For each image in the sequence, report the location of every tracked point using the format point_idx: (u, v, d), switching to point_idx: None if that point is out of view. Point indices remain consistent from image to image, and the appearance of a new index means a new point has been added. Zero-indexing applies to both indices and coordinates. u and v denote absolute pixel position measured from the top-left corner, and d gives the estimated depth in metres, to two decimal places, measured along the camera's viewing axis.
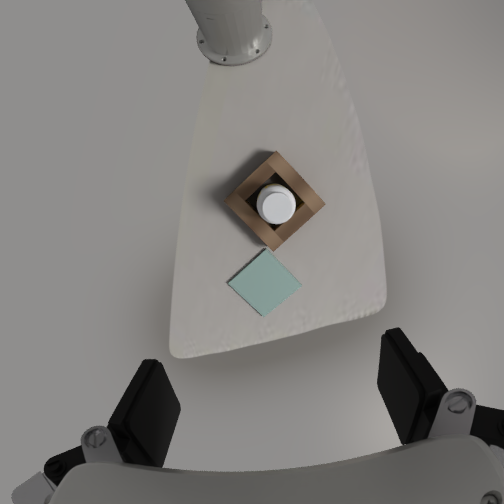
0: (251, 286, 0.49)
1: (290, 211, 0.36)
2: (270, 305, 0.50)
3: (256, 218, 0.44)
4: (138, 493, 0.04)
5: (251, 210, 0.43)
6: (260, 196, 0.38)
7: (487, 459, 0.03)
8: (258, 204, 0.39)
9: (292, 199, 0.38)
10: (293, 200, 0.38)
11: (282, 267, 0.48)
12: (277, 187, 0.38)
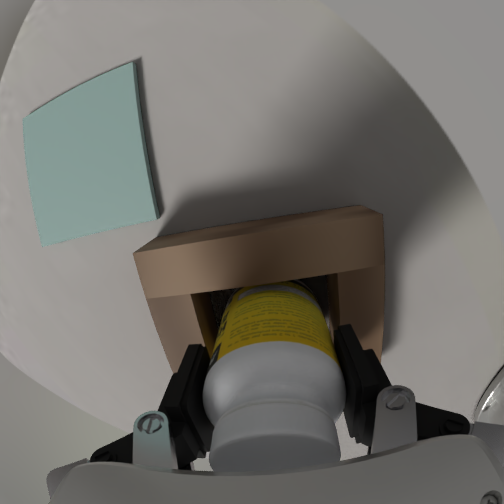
0: (89, 120, 0.13)
1: None
2: (33, 147, 0.13)
3: (262, 272, 0.12)
4: (138, 493, 0.04)
5: (294, 273, 0.12)
6: (341, 388, 0.09)
7: (487, 459, 0.03)
8: (324, 373, 0.08)
9: None
10: None
11: (92, 229, 0.14)
12: None
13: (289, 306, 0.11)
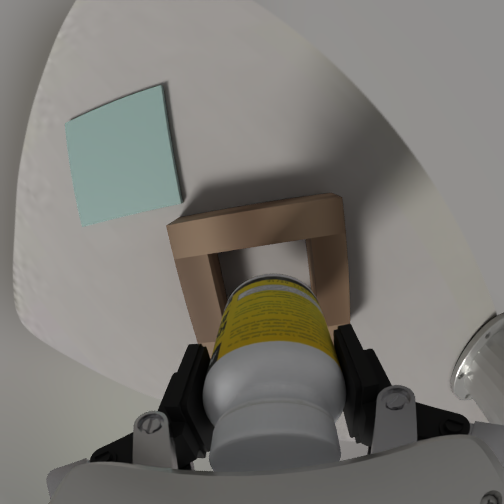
0: (126, 128, 0.18)
1: None
2: (76, 147, 0.18)
3: (258, 237, 0.17)
4: (138, 493, 0.04)
5: (280, 238, 0.17)
6: (341, 388, 0.09)
7: (487, 459, 0.03)
8: (324, 373, 0.08)
9: None
10: None
11: (129, 212, 0.20)
12: None
13: (289, 306, 0.11)
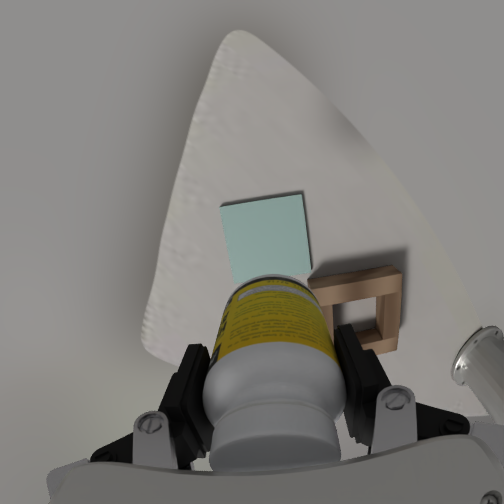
0: (276, 221, 0.31)
1: None
2: (231, 227, 0.32)
3: (359, 295, 0.31)
4: (138, 493, 0.04)
5: (370, 295, 0.30)
6: (341, 388, 0.09)
7: (487, 459, 0.03)
8: (324, 373, 0.08)
9: None
10: None
11: None
12: None
13: (289, 306, 0.11)
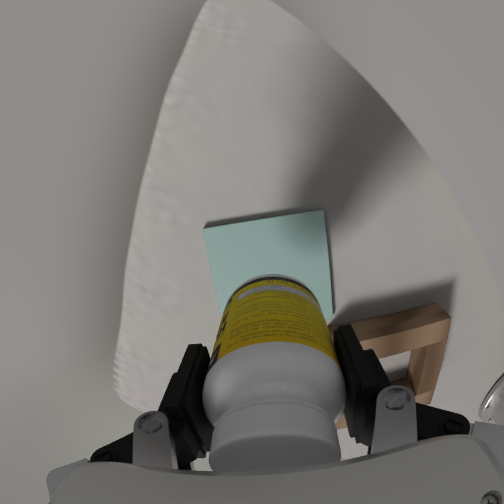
0: (286, 250, 0.21)
1: None
2: (220, 259, 0.22)
3: (396, 349, 0.20)
4: (138, 493, 0.04)
5: (410, 348, 0.20)
6: (341, 388, 0.09)
7: (487, 459, 0.03)
8: (324, 373, 0.08)
9: None
10: None
11: None
12: None
13: (289, 306, 0.11)
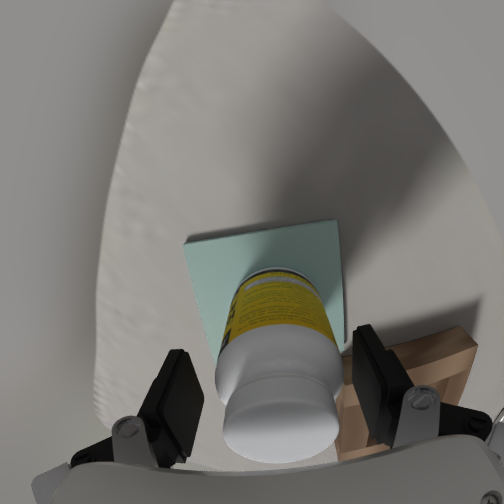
0: None
1: (244, 453, 0.08)
2: (206, 281, 0.17)
3: (417, 383, 0.16)
4: (138, 493, 0.04)
5: (431, 381, 0.16)
6: (339, 366, 0.10)
7: (487, 459, 0.03)
8: (323, 352, 0.10)
9: None
10: None
11: None
12: None
13: (291, 295, 0.13)
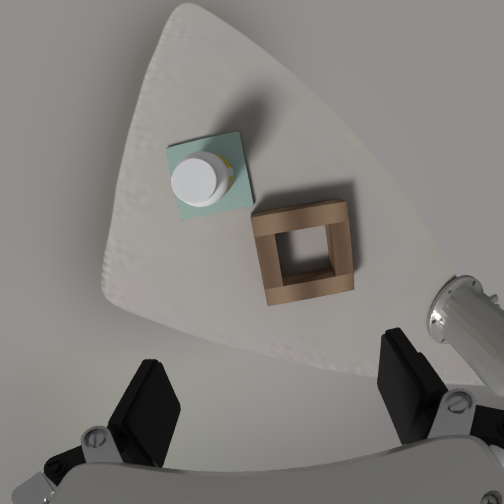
0: None
1: (179, 195, 0.24)
2: None
3: (302, 224, 0.32)
4: (138, 493, 0.04)
5: (314, 224, 0.32)
6: (222, 165, 0.25)
7: (487, 459, 0.03)
8: (213, 157, 0.25)
9: (195, 203, 0.26)
10: (193, 204, 0.26)
11: (218, 209, 0.34)
12: (221, 193, 0.26)
13: None
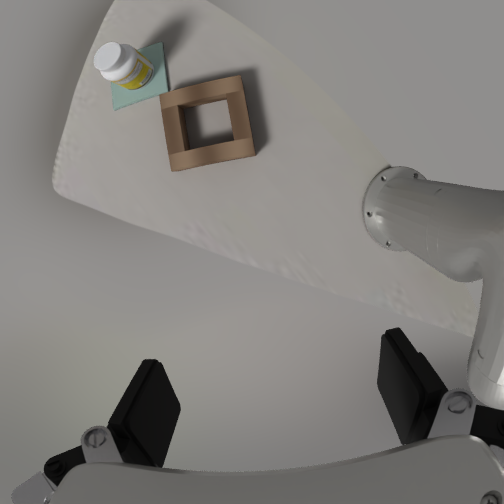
0: None
1: (97, 66, 0.25)
2: None
3: (201, 95, 0.32)
4: (138, 493, 0.04)
5: (211, 94, 0.32)
6: (132, 49, 0.26)
7: (487, 459, 0.03)
8: (127, 45, 0.26)
9: (111, 76, 0.27)
10: (110, 77, 0.27)
11: (141, 98, 0.35)
12: (128, 66, 0.27)
13: None
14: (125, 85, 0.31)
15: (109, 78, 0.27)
